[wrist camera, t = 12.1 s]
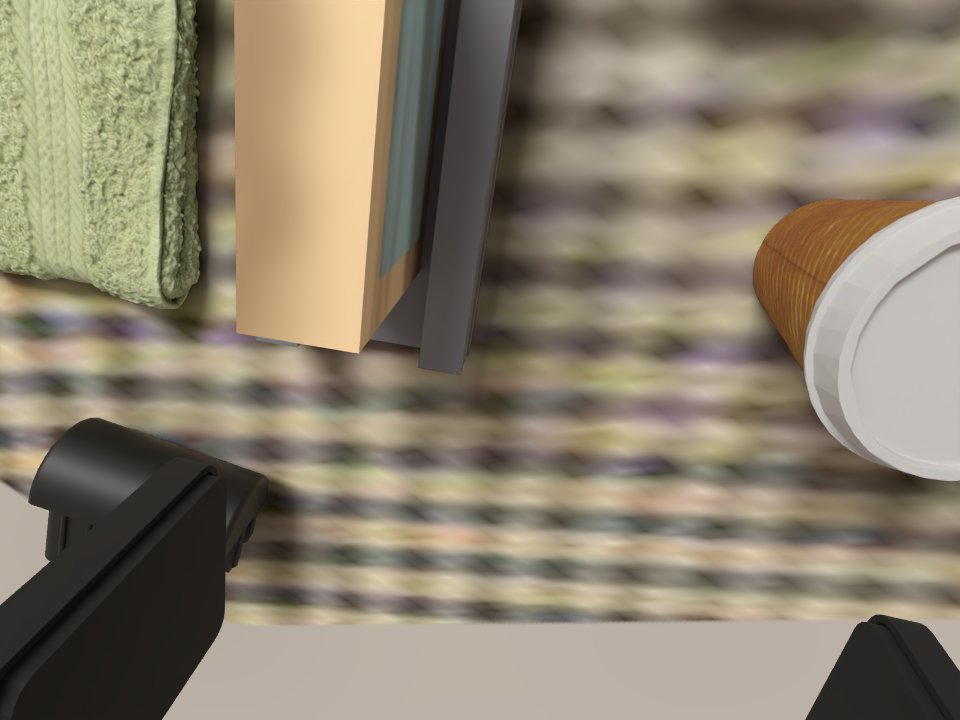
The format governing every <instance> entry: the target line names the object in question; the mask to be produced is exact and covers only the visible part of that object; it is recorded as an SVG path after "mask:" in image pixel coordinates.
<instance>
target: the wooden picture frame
mask: <svg viewBox="0 0 960 720" xmlns="http://www.w3.org/2000/svg"><path fill="white" fill-rule="evenodd" d="M449 4H450V0H234V24H235V170H236V316H237V333H240V334H246V335H252V336H258V337H264V338H270V339H276V340H282V341H287V342H293V343H299V344H305V345H311V346H317V347H323V348H329V349H335V350H341V351H347V352H353V353H360V352H361V350H362V349H363V347H364V346H365V345H366V343H367V342H368V341H369V339H370V338H371V337H372V335H373V334H374V333H375V331H376V330H377V329H378V327H379V326H380V325H381V323H382V322H383V321H384V319H385V318H386V316H387V315H388V314H389V312H390V311H391V310H392V308H393V307H394V306H395V304H396V303H397V302H398V300H399V299H400V298H401V296H402V295H403V294H404V292H405V291H406V290H407V288H408V287H409V286H410V284H411V283H412V281H413V280H414V279H415V277H416V276H417V275H418V273H419V272H420V268H421V259H422V250H423V241H424V232H425V223H426V214H427V205H428V195H429V186H430V177H431V168H432V159H433V150H434V141H435V132H436V123H437V113H438V104H439V95H440V86H441V77H442V68H443V59H444V50H445V40H446V31H447V22H448V13H449Z"/></svg>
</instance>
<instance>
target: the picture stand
mask: <svg viewBox="0 0 960 720" xmlns="http://www.w3.org/2000/svg"><path fill="white" fill-rule="evenodd" d="M522 5H523V0H450V4H449V13H448V22H447V31H446V40H445V50H444V59H443V68H442V77H441V86H440V95H439V104H438V113H437V123H436V132H435V141H434V150H433V159H432V168H431V177H430V186H429V195H428V205H427V214H426V223H425V232H424V241H423V250H422V259H421V268H420V272H419V273H418V275H417V276H416V277H415V279H414V280H413V281H412V283H411V284H410V286H409V287H408V288H407V290H406V291H405V292H404V294H403V295H402V296H401V298H400V299H399V300H398V302H397V303H396V304H395V306H394V307H393V308H392V310H391V311H390V312H389V314H388V315H387V316H386V318H385V319H384V321H383V322H382V323H381V325H380V326H379V327H378V329H377V330H376V331H375V333H374V334H373V335H372V337H371V338H370V339H371V340H377V341H383V342H389V343H395V344H401V345H407V346H413V347H419V348H421V349H420V358H419V366H418V368H422V369H428V370H434V371H440V372H445V373H451V374H457V375H460V374H461V371H462V368H463V364H464V361H465V358H466V356H468V354H469V351H470V347H471V343H472V336H473V329H474V323H475V316H476V309H477V303H478V296H479V290H480V283H481V276H482V270H483V263H484V256H485V250H486V243H487V237H488V230H489V223H490V217H491V210H492V203H493V197H494V190H495V184H496V177H497V170H498V164H499V157H500V150H501V144H502V137H503V130H504V124H505V117H506V111H507V104H508V97H509V91H510V84H511V77H512V71H513V64H514V58H515V51H516V44H517V38H518V31H519V24H520V18H521V11H522ZM256 340H258V341H264V342H270V343H275V344H281V345H287V346H293V347H298V346H299V345H300V344H299V343H293V342H287V341H282V340H276V339H270V338H264V337H258V336H256Z"/></svg>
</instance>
